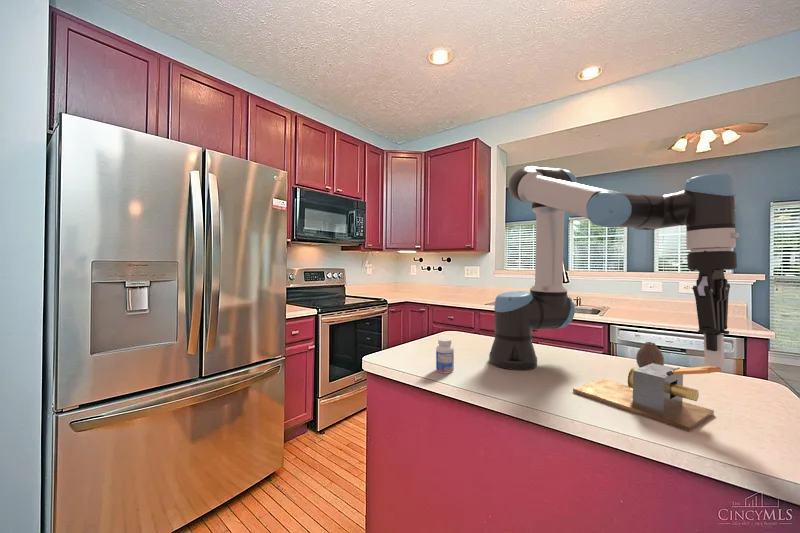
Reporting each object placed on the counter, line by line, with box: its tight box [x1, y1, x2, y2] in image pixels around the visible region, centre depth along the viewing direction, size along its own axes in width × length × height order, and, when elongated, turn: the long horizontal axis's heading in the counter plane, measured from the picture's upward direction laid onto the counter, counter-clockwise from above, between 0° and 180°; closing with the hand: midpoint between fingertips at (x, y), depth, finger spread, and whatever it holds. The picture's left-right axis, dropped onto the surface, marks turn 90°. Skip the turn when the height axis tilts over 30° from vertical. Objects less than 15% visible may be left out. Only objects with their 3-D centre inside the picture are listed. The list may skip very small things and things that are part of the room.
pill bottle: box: [435, 337, 455, 374], centre depth 106 cm, size 6×5×10 cm
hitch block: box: [572, 363, 715, 433], centre depth 82 cm, size 24×14×10 cm, turn 32°
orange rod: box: [673, 365, 722, 376], centre depth 72 cm, size 8×4×1 cm, turn 32°
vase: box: [635, 341, 665, 368], centre depth 105 cm, size 7×7×9 cm
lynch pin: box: [627, 367, 700, 402], centre depth 78 cm, size 12×5×5 cm, turn 32°
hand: (714, 365), depth 70 cm, fingers closed
